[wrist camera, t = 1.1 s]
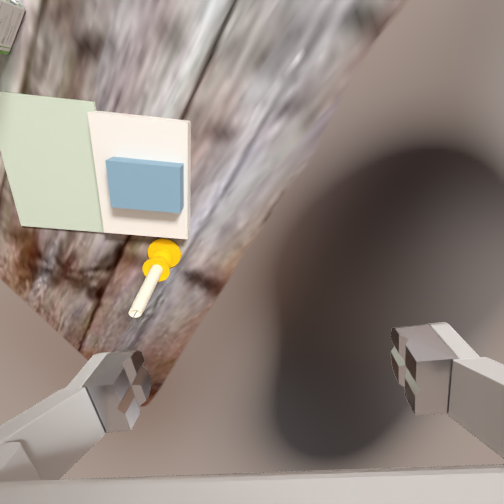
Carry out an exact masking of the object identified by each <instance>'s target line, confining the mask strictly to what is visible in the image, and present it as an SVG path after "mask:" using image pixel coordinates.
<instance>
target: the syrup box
mask: <svg viewBox="0 0 504 504" xmlns="http://www.w3.org/2000/svg"><path fill="white" fill-rule="evenodd" d="M24 12H25V8H24V7H23V6H22V5H20V4H19V3H18V2H17V1H15V0H0V54H6V55H8V54H9V52H10V49H11V47H12V44H13V42H14V39H15V37H16V34H17V31H18V29H19V26H20V23H21V20H22V18H23V15H24Z"/></svg>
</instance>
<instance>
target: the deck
mask: <svg viewBox="0 0 504 504" xmlns="http://www.w3.org/2000/svg"><path fill="white" fill-rule="evenodd" d="M87 114H88V121H89V128H90V135H91V142H92V150H93V157H94V164H95V171H96V178H97V185H98V193H99V200H100V207H101V214H102V221H103V228H104V233H116V234H128V235H140V236H152V237H165V238H177V239H188V237H189V234H190V174H191V121H187V120H178V119H169V118H159V117H150V116H141V115H131V114H122V113H113V112H104V111H90V112H87ZM111 157H123V158H133V159H143V160H154V161H164V162H174V163H184V208H183V210H182V211H181V213H171V212H160V211H148V210H137V209H125V208H114V207H111V203H110V195H109V187H108V179H107V171H106V162H105V160H107V159H109V158H111Z"/></svg>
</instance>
